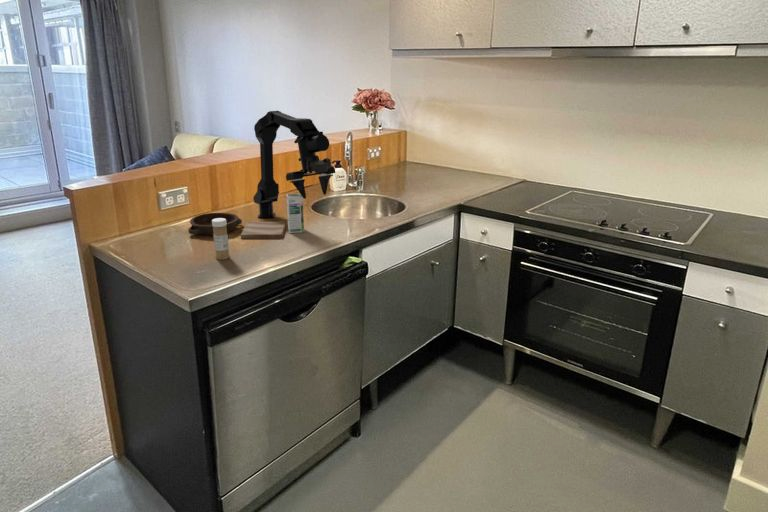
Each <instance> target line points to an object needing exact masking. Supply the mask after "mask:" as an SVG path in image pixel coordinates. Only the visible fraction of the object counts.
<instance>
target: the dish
mask: <svg viewBox="0 0 768 512" xmlns="http://www.w3.org/2000/svg"><path fill="white" fill-rule="evenodd" d="M216 218H225V219H226V222H227V226H226V228H227V233H230V232H232V231H234V230H235V229H236V226H240V225H241V224H243V221H242V218H240V217H239V215H237V214H234V213H228V212H207V213H201V214H199V215H196V216H194V217H192V218H191V219H190V220H189V224H190V225H191V226H190V227H189V228H188V230H187V231H188V233H189V234H191V235H198V234H199V235H206V236H214V232H213V226H212V220H213V219H216Z"/></svg>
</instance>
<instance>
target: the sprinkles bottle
mask: <svg viewBox="0 0 768 512" xmlns="http://www.w3.org/2000/svg"><path fill="white" fill-rule="evenodd" d="M212 226H213V232H214V235H213V244H214V251H215V259H216V260H223V261H224V260H228V259H229V258H230V253H229V251H230V250H229V237H228V232H227V228H226V226H227V222H226V219H225V218H216V219H213V220H212Z"/></svg>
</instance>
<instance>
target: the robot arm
mask: <svg viewBox="0 0 768 512" xmlns="http://www.w3.org/2000/svg"><path fill="white" fill-rule="evenodd" d="M281 126H282V127H284V128H287V129H288V130H289V131H290V133H292V134H293V135H294V136H295V137H296V138H295V140H294V144H297V145H298V146H297V147H298V152H299V158H298V162H300V164H301V169H300V170H298V171H292V172H291V171H290V172H286V174H285V178H286V181H289V183H290V184H291V183H292V185H293V186H294V187H295V188H296V189H297V191H298V193H300V194H301V195H302V197H303V200H304V199H305V200H306V199H307V193H306V187H305V181H306V179H305V178H306V177H311V176H317V175H319V176H318V177H317V178H318V181H319V184H320V188H321V191H322V193H323V194H322V195H323V196H324V195H325V196H326V195H327V192H328V186H329V185H328V184H329V181H330V179H331V177H333V176H334V174H336V169H335V167H334V166H333V165H332V162H331V159H330V157H327V158H323V159H321V160H320V157H319V155H317V153H319V152H325V151H327V150H328V149H329V148H330V140H329V139H328V137H327V136H326V135H325V134H324V132H323V131H319V130H318V128H317V126H316V125H315V123H314V122H313V120H312V119H311V118H303V117H301V118H299V117H296V116H294V117H293V116H291V115H289V114H286V113H283V112H281V111H279V110H269V111H267V112H266V114H265V115H264V116H262V117H261V118H259V119H258V120H257V121H256V123H255V124H254V126H253V127H254V129H253V130H254V135H255V138H256V140H257V141H258V142H259V147H260V148H259V152H260V153H259V156H260V158H259V159H260V175H261V177H260V180H259V181H258V184H257V186H256V187H257V189H256V193H255V194H254V196H253V203H255V204H257V205H258V208H259V209H258V211H259V214H258V216H257V218H258V219H274V217H275V215H276V212H274V202H278V199H279V193H280V190H279V189H280V186H279V183H277V182H276V180H275V178H274V156H273V155H274V151H273V149H274V147H273V146H274V145H273V143H274V142H275V140H276V139H277V133H278V130H279V129H280V127H281Z"/></svg>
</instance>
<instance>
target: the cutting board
mask: <svg viewBox="0 0 768 512" xmlns="http://www.w3.org/2000/svg"><path fill="white" fill-rule="evenodd" d="M286 227H287V221H247V223H246V224H245V227H244V228H243V230H242V232H241V233H240V239H282V238H283V235H284V232H285V230H286Z"/></svg>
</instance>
